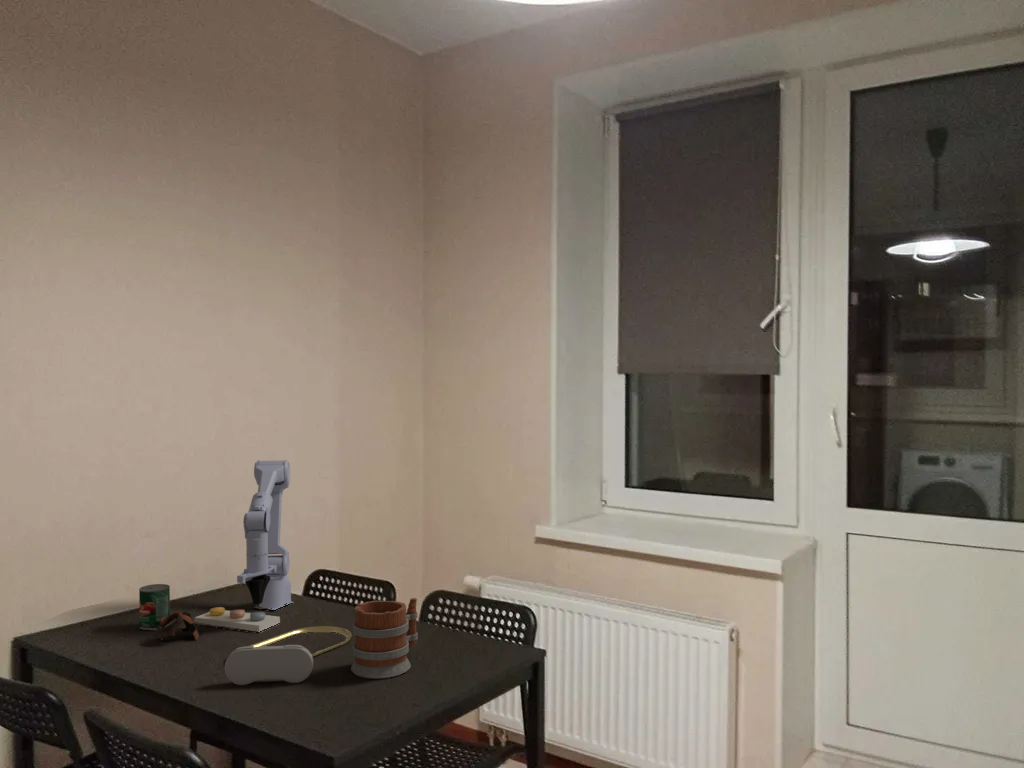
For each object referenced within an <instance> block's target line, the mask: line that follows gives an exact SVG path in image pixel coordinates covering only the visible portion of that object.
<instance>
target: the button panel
mask: <svg viewBox="0 0 1024 768" xmlns="http://www.w3.org/2000/svg"><path fill="white" fill-rule="evenodd" d="M230 611H231V610H226V609H225V613H224V614H221V615H210V611H208V612H206V613H203V614H201V615H198V616H194V623H195V622H198V623H205V624H211V625H218V626H225V627H231V628H232V627H233V628H239V629H245V630H250V631H257V632H260V631H262V630H264V629H267V628H269V627H271V626H274V625H276V624H278V623H280V624H281V617H280V616H276V615H267V614H265V619H262V620H251V619H250V614H251V613H252V612H245V616H243V617H239V618H232V617H230ZM278 625H279V624H278ZM276 626H277V625H276ZM274 627H275V626H274ZM269 629H270V628H269ZM267 630H268V629H267ZM262 632H263V631H262ZM260 633H261V632H260Z"/></svg>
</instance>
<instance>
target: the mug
mask: <svg viewBox="0 0 1024 768" xmlns="http://www.w3.org/2000/svg"><path fill="white" fill-rule="evenodd" d="M417 600H418V599H417V598H415V597H411V598H410V599H409V603H408V607H407V605H406V603H404V602H400V601H397V600H396V601H395V600H371V601H367V602H363V603H357V605H356V606H355V608H354V621H352V633H353V634H354V642H353V644H352V654H353V656H354V657H355V658H354V661H353V663H352V664H351V667H350V671H351V672H352V673H353V674H354V676H356V677H360V678H362V679H363V678H364V679H367V680H368V679H369V680H370V679H371V680H385V679H390V678H391V677H392V678H394V677H398V676H401V674H402V675H404V674H405V673H407V672H408V671H409V670H410V668H411V666H412V665H411V662H410V660H409V659H408V657H407V654H408V653H409V651H410V649H414V648H415V647H416V644H417V642H418V639H419V638H418V637H419V636H418V634H419V633H418V632H417V619H418V618H419V616H418V615H419V613H418V612H417V602H418V601H417ZM403 673H404V674H403Z"/></svg>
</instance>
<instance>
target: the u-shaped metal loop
mask: <svg viewBox="0 0 1024 768" xmlns="http://www.w3.org/2000/svg"><path fill="white" fill-rule="evenodd" d="M307 632H314V633H330V632H336V633H335V634H337V633H339V634H338V635H340V634H342V635H341V636H343V635H344V636H345V637H346V639H344V640H343V641H341V642H339V643H337V644H334V645H332V646H329V647H326V648H323V649H321V650H318V651H316V652H314V653H311V655H312V657H313V658H314V656H315V657H317V656H320V655H321V654H325V653H326V652H329V650H330V651H332V650H334V648H335V649H337V648H340V647H342V646H344V645H345V644H347V643H348V642H349V641H350V640H351V638H352V636H353V635H352V632H351V631H350V630H348V629H346V628H343V627H339V626H329V625H328V626H327V625H320V626H308V627H306V626H305V627H301V628H297V629H291V630H290V631H286V632H284V633H281V634H278V635H274V636H272V637H270V638H267V639H264V640H262V641H259V642H256V643H253V644H250V645H247V646H246V647H248V646H254V647H264V646H267V645H269V646H271V645H270V644H272V643H274V644H276V643H275V642H277V641H280V640H282V639H285V638H287V637H290V636H293V635H295V634H296V635H297V634H300V633H306V634H308V633H307ZM297 636H298V635H297ZM344 636H343V637H344ZM345 637H344V638H345ZM285 640H286V639H285ZM280 642H281V641H280ZM277 643H278V642H277ZM272 645H273V644H272ZM324 652H325V653H324ZM319 654H320V655H319Z"/></svg>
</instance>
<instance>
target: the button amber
mask: <svg viewBox="0 0 1024 768" xmlns="http://www.w3.org/2000/svg"><path fill="white" fill-rule="evenodd" d="M225 610H226V609H225V607H222V606H218V607H217V606H216V607H212V608H210V609H209V612H210V615H221V614H224V613H225Z"/></svg>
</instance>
